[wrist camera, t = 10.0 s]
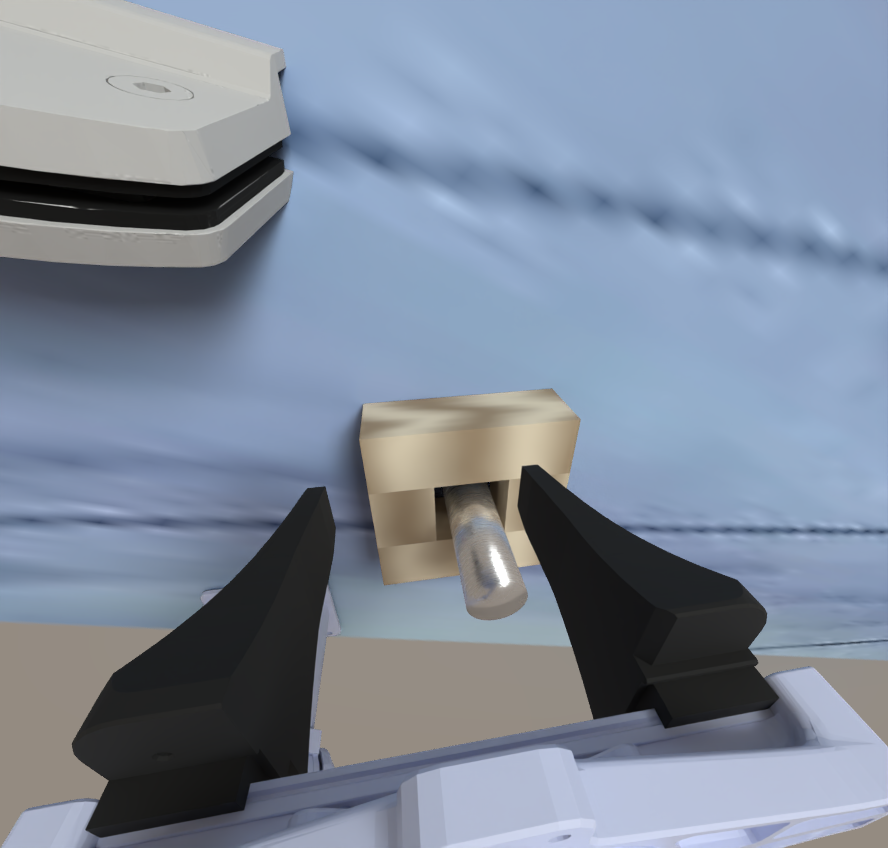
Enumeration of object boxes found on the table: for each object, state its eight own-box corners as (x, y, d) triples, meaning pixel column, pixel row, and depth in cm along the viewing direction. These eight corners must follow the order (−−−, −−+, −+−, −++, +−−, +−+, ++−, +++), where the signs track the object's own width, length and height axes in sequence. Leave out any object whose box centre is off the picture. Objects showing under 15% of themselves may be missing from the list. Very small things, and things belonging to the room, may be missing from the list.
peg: (441, 490, 26) (467, 624, 18) (437, 457, 25) (464, 587, 16) (481, 484, 27) (526, 614, 18) (480, 451, 25) (529, 576, 16)
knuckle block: (384, 539, 28) (384, 585, 25) (363, 403, 22) (359, 439, 18) (532, 521, 29) (551, 562, 26) (552, 388, 23) (580, 419, 20)
